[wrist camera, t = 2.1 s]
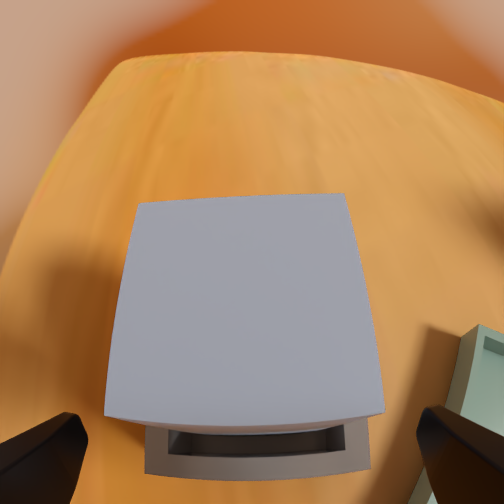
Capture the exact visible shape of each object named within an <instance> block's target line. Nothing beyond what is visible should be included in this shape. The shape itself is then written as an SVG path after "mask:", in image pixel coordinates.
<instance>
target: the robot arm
mask: <svg viewBox="0 0 504 504" xmlns="http://www.w3.org/2000/svg"><path fill="white" fill-rule="evenodd" d="M416 436H417V441H418V444H419V447H420V451H421V455H422V458H423V462H424V465H425V469H426V473H427V476H428V480H429V483H430V486H431V488H432V491H433V493H434V496H435V498H436V501H437V504H504V436H502V435H500V434H498V433H496V432H494V431H491V430H489V429H487V428H485V427H483V426H481V425H479V424H477V423H475V422H473V421H471V420H469V419H467V418H465V417H463V416H461V415H459V414H457V413H455V412H453V411H451V410H449V409H447V408H445V407H443V406H441V405H433V406H429V407H426V408H425V409H424V410H423V412H422V415H421V418H420V421H419V424H418V427H417V431H416ZM87 445H88V435H87V433H86V431H85V428H84V426H83V424H82V421H81V419H80V417H79V416H78V415H77V414H74V413H69V412H63V413H61V414H59V415H57V416H55V417H53V418H51V419H49V420H47V421H45V422H43V423H41V424H39V425H37V426H35V427H33V428H31V429H29V430H27V431H25V432H23V433H21V434H19V435H17V436H15V437H13V438H11V439H9V440H7V441H5V442H3V443H0V504H70V501H71V499H72V496H73V494H74V491H75V488H76V485H77V482H78V478H79V474H80V471H81V467H82V463H83V459H84V456H85V452H86V449H87Z"/></svg>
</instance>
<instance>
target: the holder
mask: <svg viewBox="0 0 504 504" xmlns="http://www.w3.org/2000/svg"><path fill="white" fill-rule="evenodd" d="M367 469H371V465H370V448H369V433H368V421H367V418H365V419H361V420H357V421H354V422H350V423H346V424H342V425H338V426H334V427H330V428H326V429H321V430H317V431H312V432H307V433H296V434H280V435H253V436H220V435H204V434H196V433H189V432H182V431H176V430H170V429H164V428H158V427H153V426H148V425H145V474H152V475H159V476H168V477H177V478H188V479H202V480H223V481H265V480H286V479H300V478H311V477H320V476H328V475H336V474H343V473H349V472H356V471H361V470H367Z"/></svg>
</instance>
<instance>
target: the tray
mask: <svg viewBox="0 0 504 504" xmlns="http://www.w3.org/2000/svg"><path fill="white" fill-rule="evenodd" d="M445 408H447V409H449V410H451V411H453V412H455V413H457V414H459V415H461V416H463V417H465V418H467V419H469V420H471V421H473V422H475V423H477V424H479V425H481V426H483V427H485V428H487V429H489V430H491V431H494V432H496V433H498V434H500V435H502V436H504V334H502V333H499V332H497V331H495V330H492V329H490V328H487V327H485V326H483V325H480V324H478V325H477V326H476V327H474V328H473V329H472V330H470V331H469V332H468V333H466V334H465V335H463V336H462V337H461V341H460V346H459V351H458V356H457V360H456V365H455V369H454V374H453V378H452V382H451V386H450V389H449V393H448V397H447V400H446V404H445ZM407 504H437V501H436V498H435V496H434V493H433V491H432V488H431V486H430V483H429V480H428V476H427V473H426V469H425V465H424V467H423V470H422V472H421V475H420V477H419V479H418V482H417V484H416V486H415V488H414V491H413V493H412V495H411V497H410V499H409V501H408V503H407Z"/></svg>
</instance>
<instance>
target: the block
mask: <svg viewBox="0 0 504 504" xmlns="http://www.w3.org/2000/svg"><path fill="white" fill-rule="evenodd" d="M381 413H385V404H384V395H383V387H382V379H381V371H380V364H379V357H378V350H377V344H376V338H375V332H374V326H373V320H372V314H371V309H370V304H369V298H368V293H367V288H366V283H365V278H364V274H363V269H362V264H361V260H360V255H359V251H358V247H357V242H356V238H355V234H354V230H353V226H352V222H351V218H350V214H349V210H348V207H347V203H346V199H345V195H344V193H339V194H288V195H260V196H238V197H219V198H203V199H188V200H174V201H161V202H149V203H139V205H138V209H137V213H136V217H135V221H134V225H133V229H132V233H131V238H130V242H129V246H128V251H127V256H126V260H125V265H124V270H123V275H122V280H121V285H120V291H119V296H118V302H117V308H116V314H115V320H114V327H113V334H112V341H111V348H110V356H109V365H108V374H107V383H106V394H105V407H104V416H108V417H112V418H116V419H120V420H124V421H129V422H133V423H138V424H143V425H148V426H153V427H158V428H164V429H170V430H176V431H182V432H189V433H196V434H204V435H220V436H253V435H280V434H296V433H307V432H312V431H317V430H321V429H326V428H330V427H334V426H338V425H342V424H346V423H350V422H354V421H357V420H361V419H365V418H368V417H371V416H375V415H378V414H381Z"/></svg>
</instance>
